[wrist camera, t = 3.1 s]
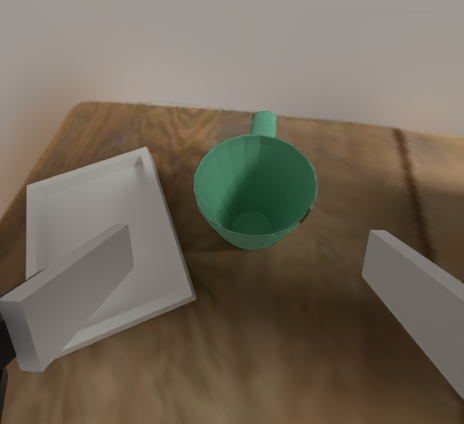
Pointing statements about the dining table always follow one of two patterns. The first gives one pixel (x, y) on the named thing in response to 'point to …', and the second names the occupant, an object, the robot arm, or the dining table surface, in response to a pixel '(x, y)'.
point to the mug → (255, 186)
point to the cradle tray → (98, 220)
